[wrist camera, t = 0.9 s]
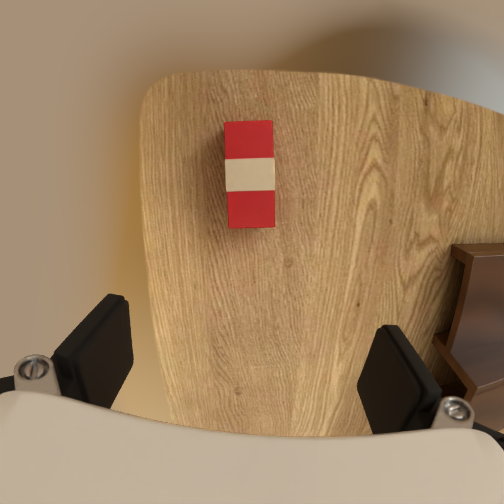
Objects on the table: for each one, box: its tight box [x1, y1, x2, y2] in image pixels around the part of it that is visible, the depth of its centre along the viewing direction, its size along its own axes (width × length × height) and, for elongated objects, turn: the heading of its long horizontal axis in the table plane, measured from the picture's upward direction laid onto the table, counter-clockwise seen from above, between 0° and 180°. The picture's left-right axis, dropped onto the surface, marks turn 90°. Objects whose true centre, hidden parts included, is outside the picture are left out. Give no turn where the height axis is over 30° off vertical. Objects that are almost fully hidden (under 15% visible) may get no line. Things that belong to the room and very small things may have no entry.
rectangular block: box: [224, 120, 275, 228], centre depth 23 cm, size 8×4×3 cm, turn 2°
